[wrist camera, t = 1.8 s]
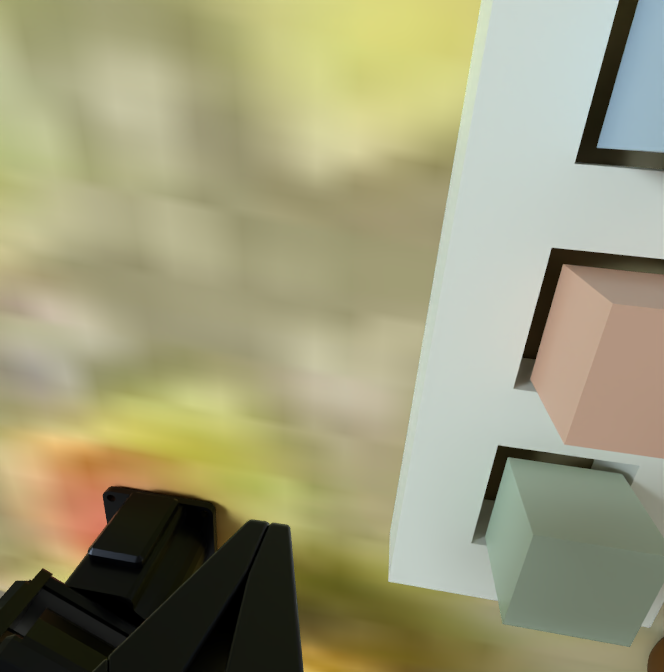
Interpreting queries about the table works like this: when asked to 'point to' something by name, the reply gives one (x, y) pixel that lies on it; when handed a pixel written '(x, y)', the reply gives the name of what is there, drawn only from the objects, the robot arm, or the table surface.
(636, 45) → the button slate
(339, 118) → the table surface
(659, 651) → the mug
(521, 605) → the button sage
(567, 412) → the button terracotta
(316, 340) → the table surface
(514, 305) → the panel
